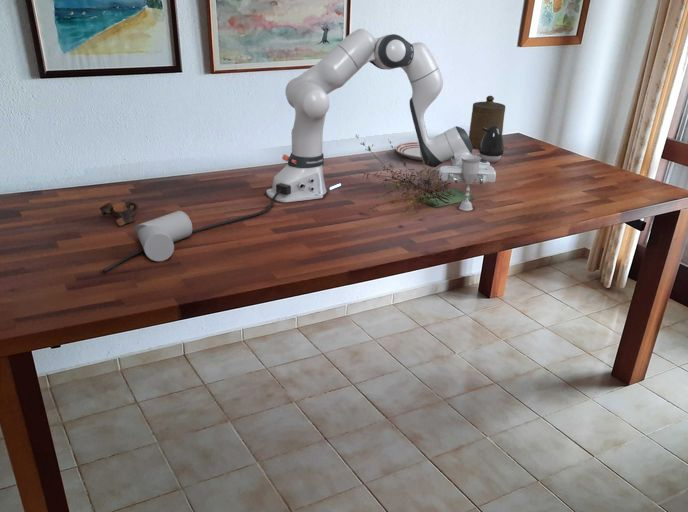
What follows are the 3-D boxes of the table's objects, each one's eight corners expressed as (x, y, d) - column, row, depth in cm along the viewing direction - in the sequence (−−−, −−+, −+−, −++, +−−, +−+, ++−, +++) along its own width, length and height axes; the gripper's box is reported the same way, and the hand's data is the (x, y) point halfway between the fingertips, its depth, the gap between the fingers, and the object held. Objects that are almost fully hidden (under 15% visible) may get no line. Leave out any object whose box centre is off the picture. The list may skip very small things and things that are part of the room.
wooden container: (491, 140, 331) (497, 92, 319) (506, 148, 319) (513, 98, 307) (462, 142, 326) (467, 93, 315) (477, 150, 314) (483, 100, 303)
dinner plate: (397, 145, 318) (398, 138, 316) (457, 149, 315) (458, 142, 314) (392, 162, 295) (392, 154, 293) (457, 167, 292) (458, 159, 290)
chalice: (469, 213, 244) (475, 161, 235) (452, 208, 248) (457, 158, 238) (479, 207, 249) (485, 157, 240) (462, 203, 253) (467, 153, 243)
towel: (435, 207, 248) (435, 204, 248) (417, 199, 255) (417, 196, 255) (472, 199, 257) (472, 195, 257) (454, 191, 264) (454, 188, 264)
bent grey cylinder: (127, 235, 215) (137, 260, 200) (130, 202, 211) (141, 225, 195) (185, 239, 223) (199, 264, 208) (189, 208, 219) (204, 230, 203)
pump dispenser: (475, 157, 304) (479, 122, 297) (498, 157, 306) (502, 122, 298) (481, 164, 296) (485, 128, 288) (504, 164, 297) (509, 128, 289)
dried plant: (450, 150, 248) (346, 103, 223) (497, 183, 225) (386, 135, 200) (410, 225, 260) (307, 188, 235) (450, 264, 237) (341, 228, 212)
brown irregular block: (111, 230, 223) (98, 206, 221) (108, 233, 232) (95, 210, 230) (145, 214, 227) (133, 191, 225) (141, 218, 236) (129, 195, 234)
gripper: (437, 159, 253) (439, 171, 241) (493, 162, 253) (499, 173, 241) (435, 177, 256) (438, 188, 244) (491, 179, 256) (496, 191, 244)
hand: (468, 181), depth 243 cm, fingers open, 8 cm apart
